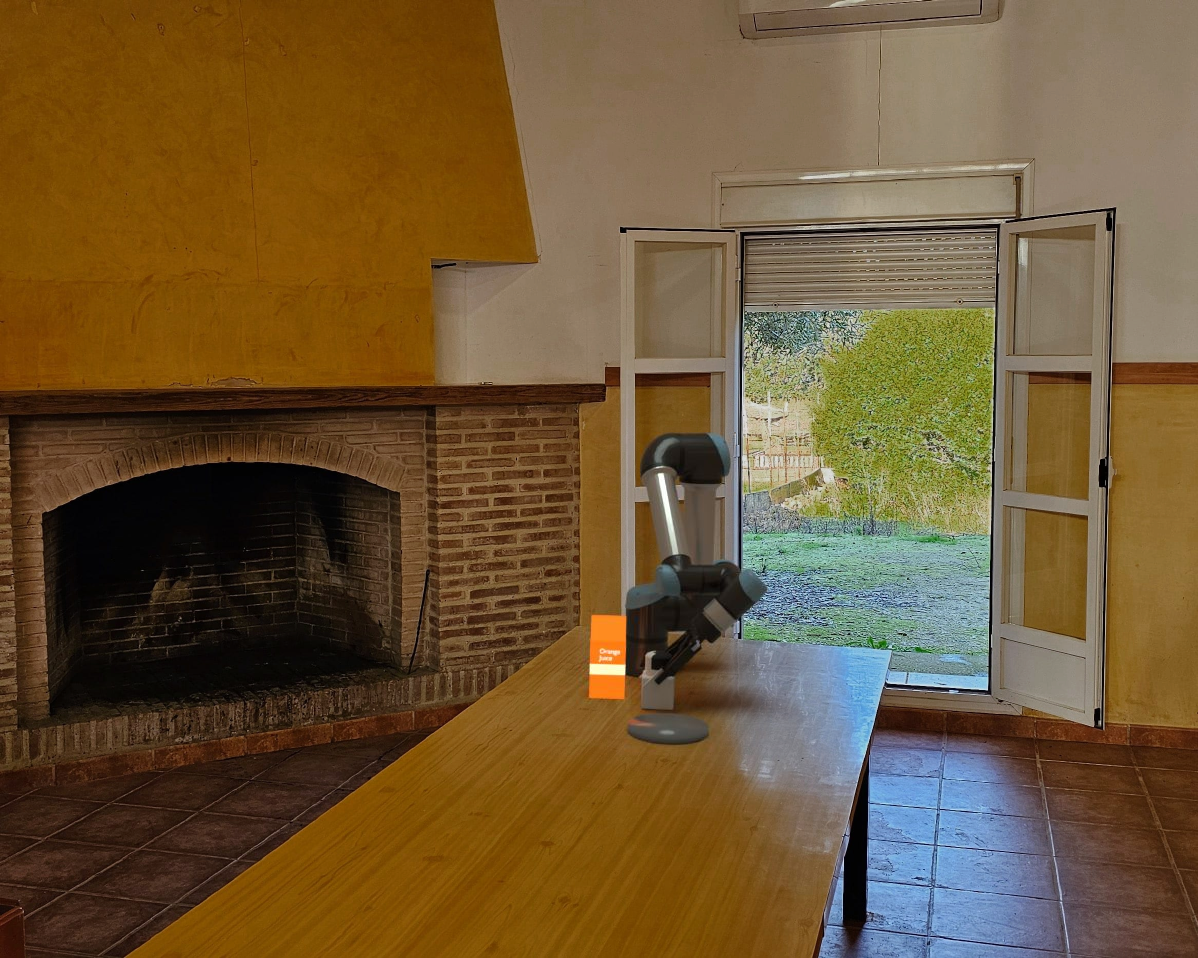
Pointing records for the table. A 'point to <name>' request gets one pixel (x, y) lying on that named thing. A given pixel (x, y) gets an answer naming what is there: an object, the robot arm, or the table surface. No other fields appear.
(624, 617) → the orange juice
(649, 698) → the container
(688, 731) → the slate plate
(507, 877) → the table surface
